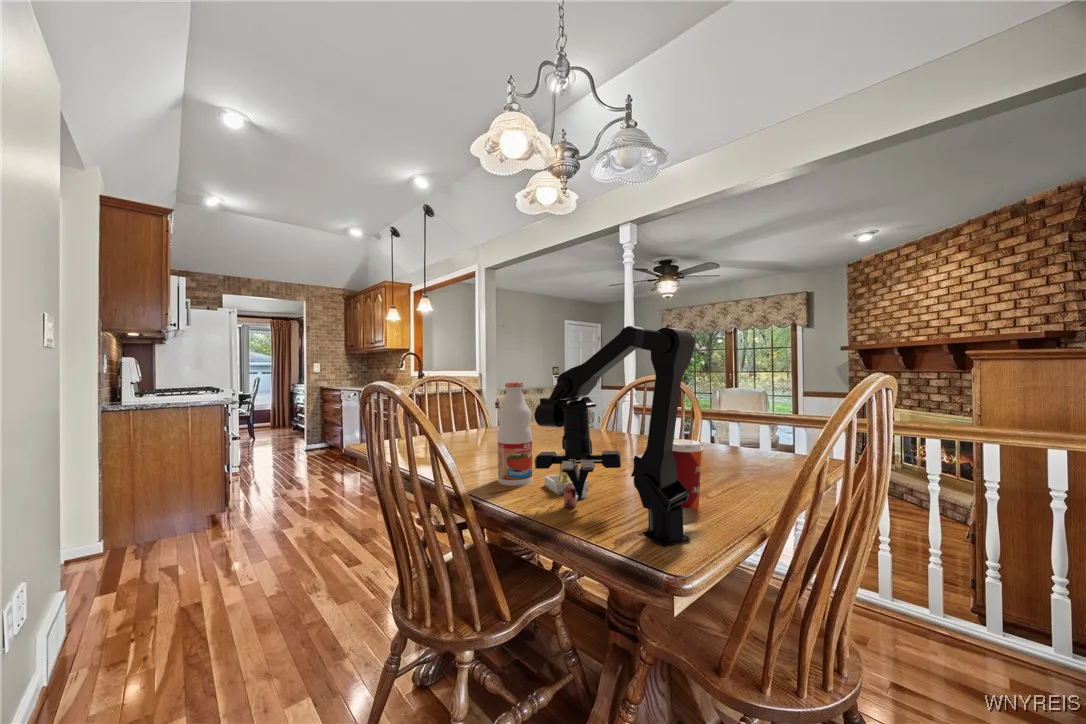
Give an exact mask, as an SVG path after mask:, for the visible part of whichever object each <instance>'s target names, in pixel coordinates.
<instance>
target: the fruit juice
mask: <svg viewBox="0 0 1086 724" xmlns="http://www.w3.org/2000/svg"><path fill="white" fill-rule="evenodd" d="M504 387H505V390H506V392H505V396H504V399H503V403H502V405H501V406H500V408H499V410H498V413H497V419H498V423H499V429H498V430H497V431H498V432H497V473H498V474H497V475H498V477H497V480H498V484H500V485H503V486H515V487H516V486H525V485H528V484H530V483H532V482H533V435H532V434H533V433H532V429H531V425H530V423H531V419H532V412H531V409H530V407H529V406H528V404H527V402H526V400H525V396H524V392H523V389H524V382H505V385H504Z"/></svg>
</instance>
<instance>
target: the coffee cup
mask: <svg viewBox="0 0 1086 724" xmlns="http://www.w3.org/2000/svg"><path fill="white" fill-rule="evenodd" d="M703 450H704V448H703V446H702V443H701V442H700V441H697V440H694V439H693V440H692V439H684V438H683V439H681V438H680V439H679V438H678V439H677V438H676V439H674V440H673V448H672V451H673V455H674V458H675V461H676V464H677V478H678V479H679V480H680V481H681V483H682V484H683V485H684V486H685V487H686V489H687V490H688V491H689V497H688V499H687V502H684V503H682V504H680V505H681V508H683V509H693V510H695V511H699V507H700V494H701V493H700V492H701V491H700V490H701V473H702V472H701V469H702V452H703Z"/></svg>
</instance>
